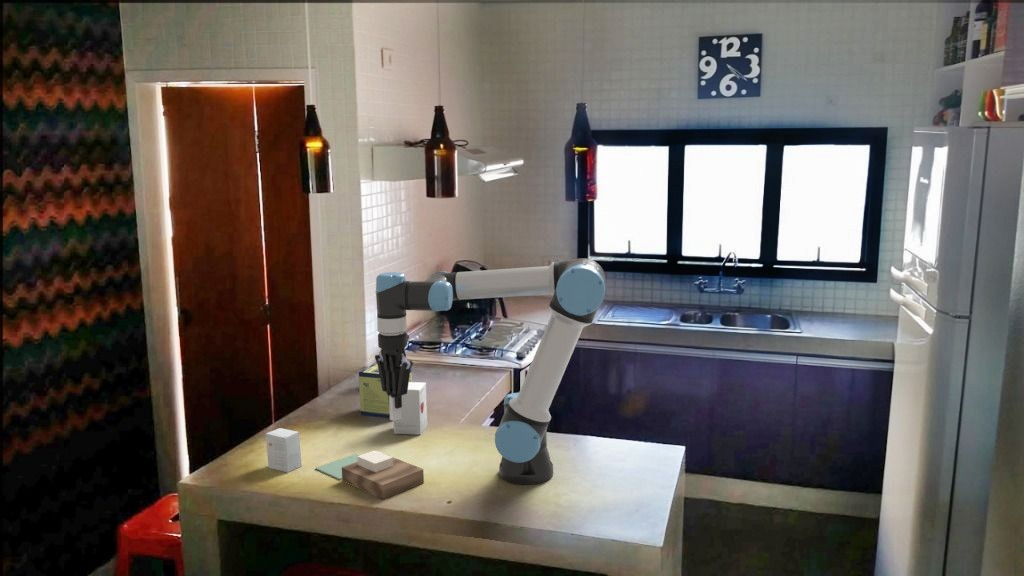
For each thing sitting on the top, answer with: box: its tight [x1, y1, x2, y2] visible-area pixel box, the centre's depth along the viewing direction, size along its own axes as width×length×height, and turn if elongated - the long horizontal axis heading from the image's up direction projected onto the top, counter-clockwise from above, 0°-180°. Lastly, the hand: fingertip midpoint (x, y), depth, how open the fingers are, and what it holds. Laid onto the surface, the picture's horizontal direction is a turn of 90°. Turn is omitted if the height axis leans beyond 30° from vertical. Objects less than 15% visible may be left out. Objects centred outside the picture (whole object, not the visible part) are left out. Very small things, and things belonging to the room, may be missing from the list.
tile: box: [357, 450, 394, 472], centre depth 227 cm, size 8×6×2 cm
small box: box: [265, 427, 302, 473], centre depth 236 cm, size 8×6×10 cm
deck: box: [341, 453, 425, 500], centre depth 225 cm, size 18×14×4 cm
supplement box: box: [393, 381, 428, 436], centre depth 265 cm, size 9×9×15 cm
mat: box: [315, 453, 360, 481], centre depth 236 cm, size 12×14×1 cm
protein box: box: [358, 363, 413, 419], centre depth 282 cm, size 10×16×16 cm
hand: (395, 418), depth 217 cm, fingers closed
